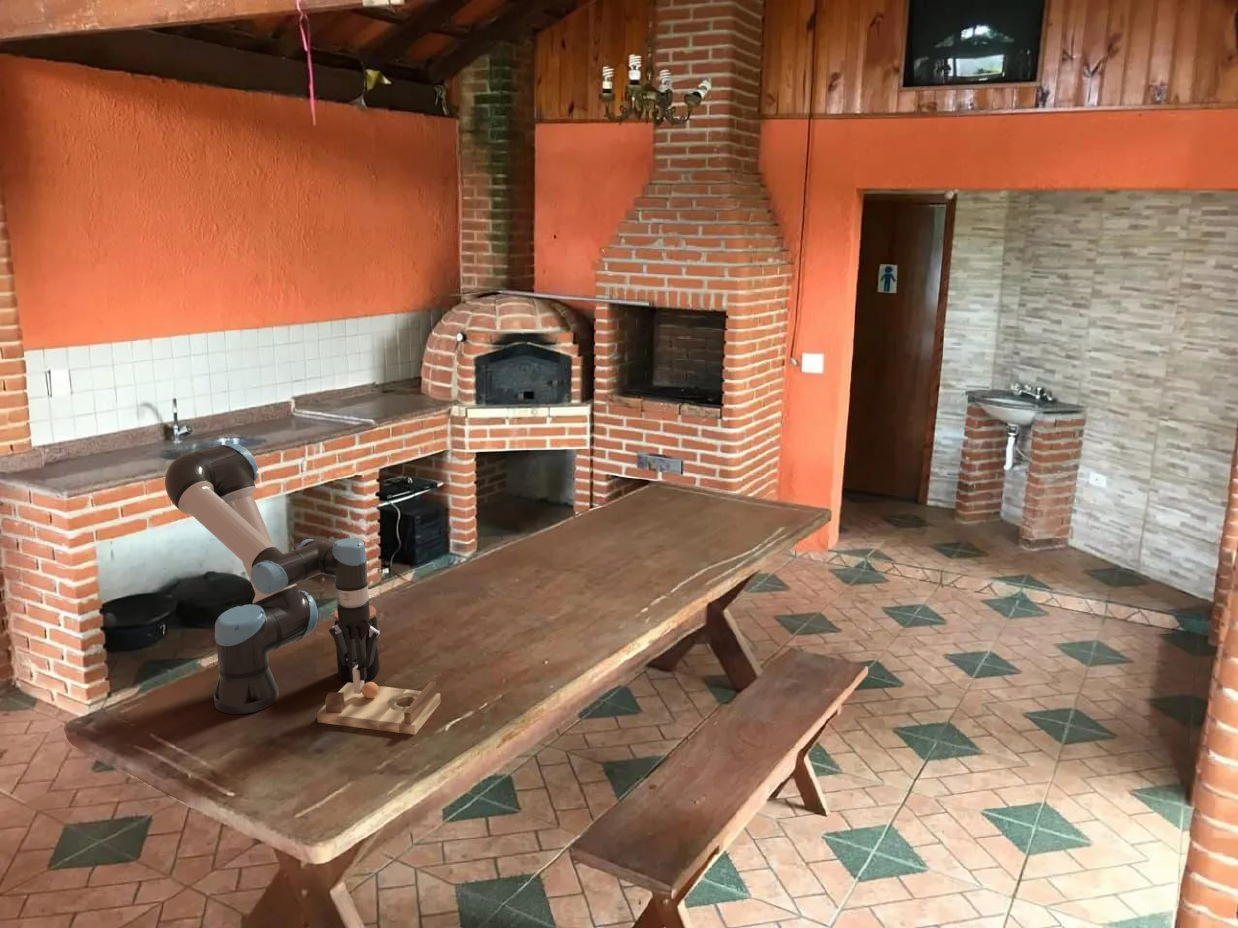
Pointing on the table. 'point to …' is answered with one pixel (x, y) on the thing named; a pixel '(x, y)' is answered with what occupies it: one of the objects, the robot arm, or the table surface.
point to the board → (385, 709)
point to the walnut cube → (334, 702)
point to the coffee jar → (344, 669)
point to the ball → (370, 690)
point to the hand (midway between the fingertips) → (359, 691)
